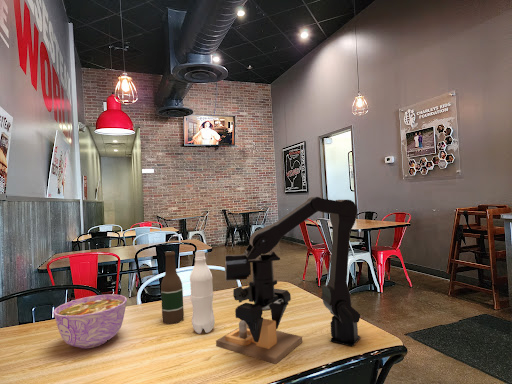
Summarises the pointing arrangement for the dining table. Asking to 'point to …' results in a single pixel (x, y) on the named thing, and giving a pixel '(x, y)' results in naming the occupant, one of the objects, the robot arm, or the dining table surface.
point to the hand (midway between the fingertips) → (266, 335)
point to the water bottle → (202, 295)
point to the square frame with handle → (266, 336)
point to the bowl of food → (90, 319)
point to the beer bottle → (171, 293)
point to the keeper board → (272, 355)
